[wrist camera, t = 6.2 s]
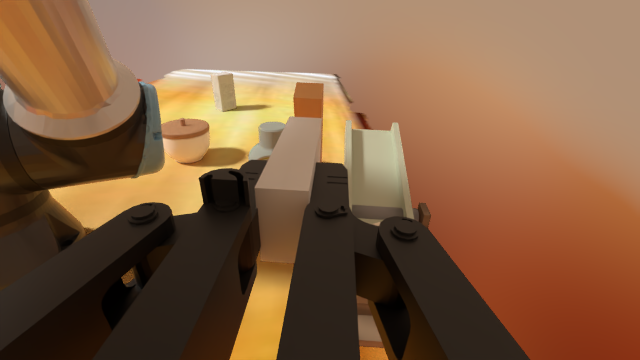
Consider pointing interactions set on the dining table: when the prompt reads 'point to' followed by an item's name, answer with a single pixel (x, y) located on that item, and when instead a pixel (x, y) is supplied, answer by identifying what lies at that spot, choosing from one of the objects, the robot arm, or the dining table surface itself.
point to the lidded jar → (186, 139)
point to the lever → (366, 164)
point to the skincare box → (223, 91)
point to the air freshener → (266, 140)
